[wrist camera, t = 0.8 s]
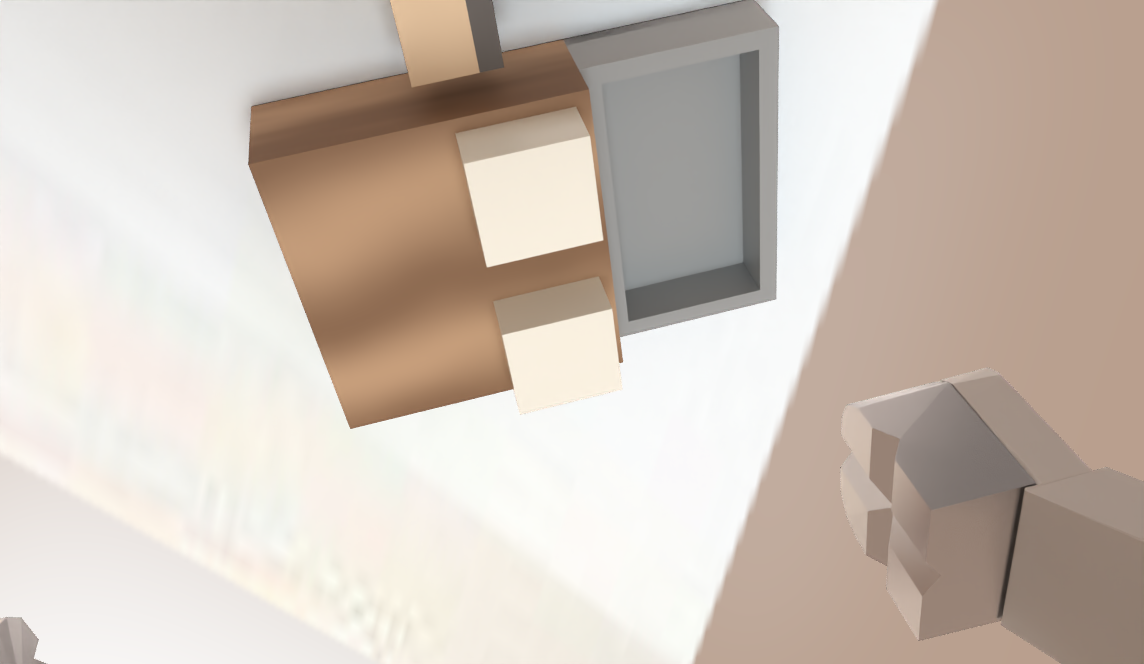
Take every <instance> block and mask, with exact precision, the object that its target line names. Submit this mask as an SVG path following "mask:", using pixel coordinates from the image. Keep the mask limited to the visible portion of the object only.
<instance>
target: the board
mask: <svg viewBox="0 0 1144 664" xmlns="http://www.w3.org/2000/svg"><path fill="white" fill-rule="evenodd" d="M502 58H503V63H504V68H500V69H495V70H490V71H486V72H481V73H476V74H472V75H467V76H463V77H458V78H453V79H449V80H444V81H440V82H435V83H430V84H426V85H421V86H416V87H412V86H411V82H410V78H409V74H408V73H405V74H401V75H396V76H392V77H387V78H382V79H378V80H373V81H368V82H364V83H359V84H354V85H350V86H345V87H340V88H336V89H331V90H327V91H322V92H317V93H313V94H308V95H303V96H299V97H294V98H289V99H285V100H280V101H275V102H271V103H266V104H262V105H257V106H252V107H251V123H250V142H249V162H248V165H249V167H250V170H251V173H252V175H253V178H254V180H255V183H256V185H257V188H258V191H259V193H260V196H261V198H262V201H263V204H264V206H265V209H266V211H267V214H268V217H269V219H270V222H271V224H272V227H273V230H274V232H275V235H276V237H277V240H278V243H279V245H280V248H281V250H282V253H283V255H284V258H285V261H286V263H287V266H288V268H289V271H290V274H291V276H292V279H293V281H294V284H295V287H296V289H297V292H298V294H299V297H300V300H301V302H302V305H303V307H304V310H305V313H306V315H307V318H308V320H309V323H310V325H311V328H312V331H313V333H314V336H315V338H316V341H317V344H318V346H319V349H320V351H321V354H322V357H323V359H324V362H325V364H326V367H327V370H328V372H329V375H330V377H331V380H332V383H333V385H334V388H335V390H336V393H337V395H338V398H339V401H340V403H341V406H342V408H343V411H344V414H345V416H346V419H347V421H348V424H349V427H350V429H352V428H356V427H360V426H364V425H368V424H373V423H377V422H381V421H385V420H389V419H393V418H397V417H401V416H405V415H409V414H413V413H417V412H422V411H426V410H430V409H434V408H438V407H442V406H446V405H450V404H454V403H458V402H462V401H466V400H471V399H475V398H479V397H483V396H487V395H491V394H495V393H499V392H503V391H507V390H511V389H513V386H512V382H511V378H510V374H509V369H508V365H507V360H506V356H505V351H504V347H503V343H502V338H501V334H500V329H499V325H498V320H497V316H496V312H495V307H494V303H493V301H496V300H501V299H505V298H509V297H513V296H518V295H522V294H526V293H530V292H534V291H539V290H543V289H547V288H551V287H556V286H560V285H564V284H568V283H573V282H577V281H581V280H585V279H589V278H594V277H598V276H599V278H600V280H601V283H602V285H603V288H604V290H605V293H606V295H607V297H608V300H609V302H610V305H611V307H612V312H613V319H614V327H615V335H616V343H617V351H618V359H619V363H622V362H623V358H622V350H621V342H620V334H619V326H618V318H617V310H616V302H615V294H614V286H613V278H612V270H611V262H610V254H609V246H608V238H607V230H606V222H605V214H604V206H603V198H602V189H601V181H600V173H599V165H598V157H597V149H596V141H595V133H594V125H593V117H592V109H591V101H590V93H589V88H588V86H587V84H586V83H585V81H584V79H583V77H582V75H581V73H580V71H579V69H578V67H577V65H576V63H575V62H574V60H573V58H572V56H571V54H570V52H569V50H568V48H567V46H566V44H565V42H564V40H559V41H554V42H549V43H545V44H540V45H535V46H531V47H526V48H522V49H517V50H512V51H508V52H503V53H502ZM572 107H576V108H577V110H578V112H579V114H580V116H581V118H582V120H583V122H584V124H585V126H586V128H587V131H588V133H589V135H590V139H591V147H592V155H593V163H594V171H595V179H596V186H597V194H598V202H599V210H600V218H601V226H602V233H603V241H598V242H594V243H590V244H585V245H581V246H577V247H573V248H568V249H564V250H560V251H555V252H551V253H547V254H543V255H538V256H534V257H530V258H526V259H521V260H517V261H513V262H508V263H504V264H500V265H496V266H491V267H487V266H486V262H485V259H484V255H483V251H482V247H481V244H480V240H479V236H478V232H477V228H476V223H475V219H474V214H473V210H472V205H471V201H470V197H469V192H468V188H467V183H466V179H465V174H464V170H463V166H462V161H461V157H460V152H459V148H458V143H457V139H456V135H455V133H459V132H463V131H468V130H473V129H477V128H482V127H486V126H491V125H495V124H500V123H504V122H509V121H513V120H518V119H522V118H527V117H531V116H536V115H540V114H545V113H549V112H554V111H558V110H563V109H567V108H572Z"/></svg>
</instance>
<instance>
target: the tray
mask: <svg viewBox="0 0 1144 664" xmlns="http://www.w3.org/2000/svg"><path fill="white" fill-rule="evenodd" d="M563 40H564V42H565V44H566V46H567V48H568V50H569V52H570V54H571V56H572V58H573V60H574V62H575V63H576V65H577V67H578V69H579V71H580V73H581V75H582V77H583V79H584V81H585V83H586V84H587V86H588V88H589V93H590V101H591V109H592V117H593V125H594V133H595V141H596V149H597V157H598V165H599V173H600V181H601V189H602V198H603V206H604V214H605V222H606V230H607V238H608V246H609V254H610V262H611V270H612V278H613V286H614V294H615V302H616V310H617V318H618V326H619V334H620V337H623V336H627V335H631V334H635V333H639V332H643V331H648V330H652V329H656V328H660V327H664V326H668V325H672V324H676V323H681V322H685V321H689V320H693V319H697V318H701V317H705V316H709V315H713V314H718V313H722V312H726V311H730V310H734V309H738V308H742V307H746V306H751V305H755V304H759V303H763V302H767V301H771V300H775V299H776V272H777V166H778V61H779V26H778V25H777V23H776V22H775V21H774V20H773V19H772V18H771V17H770V16H769V15H768V14H767V13H766V12H765V11H764V10H763V9H762V8H761V7H760V6H759V5H758V3H757V2H756V1H755V0H744V1H740V2H735V3H730V4H726V5H721V6H717V7H712V8H707V9H703V10H698V11H693V12H689V13H684V14H679V15H675V16H670V17H665V18H661V19H656V20H652V21H647V22H642V23H638V24H633V25H628V26H624V27H619V28H614V29H610V30H605V31H600V32H596V33H591V34H587V35H582V36H577V37H573V38H568V39H563Z"/></svg>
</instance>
